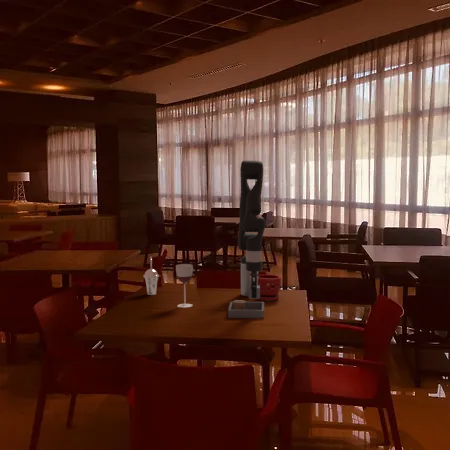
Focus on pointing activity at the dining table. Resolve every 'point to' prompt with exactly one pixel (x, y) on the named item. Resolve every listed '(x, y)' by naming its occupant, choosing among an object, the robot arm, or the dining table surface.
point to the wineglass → (184, 278)
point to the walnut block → (239, 305)
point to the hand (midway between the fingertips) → (254, 296)
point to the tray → (247, 310)
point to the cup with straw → (151, 280)
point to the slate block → (257, 292)
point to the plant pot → (269, 287)
